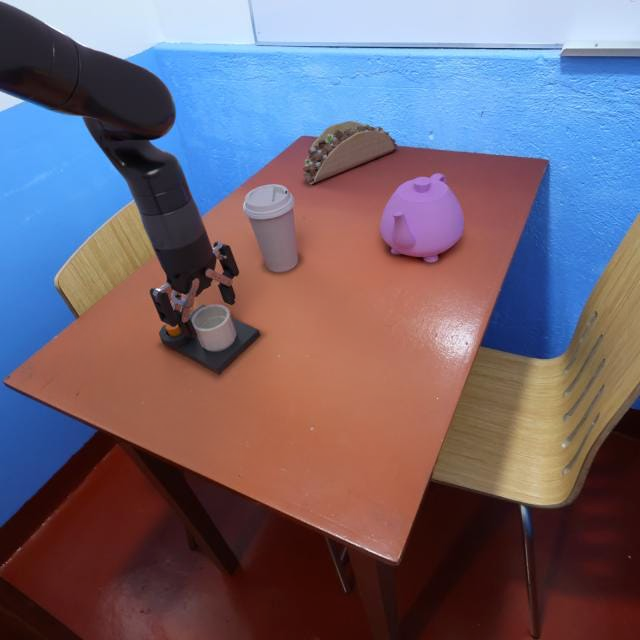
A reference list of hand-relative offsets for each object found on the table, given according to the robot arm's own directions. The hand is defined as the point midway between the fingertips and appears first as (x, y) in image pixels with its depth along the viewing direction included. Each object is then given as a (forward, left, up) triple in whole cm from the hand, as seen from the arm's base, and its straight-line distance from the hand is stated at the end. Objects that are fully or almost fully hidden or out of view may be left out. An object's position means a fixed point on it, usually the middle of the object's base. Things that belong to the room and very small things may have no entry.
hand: (211, 318), depth 75 cm
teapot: (+39, -16, -6) cm, 43 cm away
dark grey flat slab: (0, +3, -6) cm, 7 cm away
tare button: (-3, +7, -4) cm, 9 cm away
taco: (+64, +16, -6) cm, 66 cm away
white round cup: (0, 0, -5) cm, 5 cm away
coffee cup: (+23, +6, -6) cm, 25 cm away
